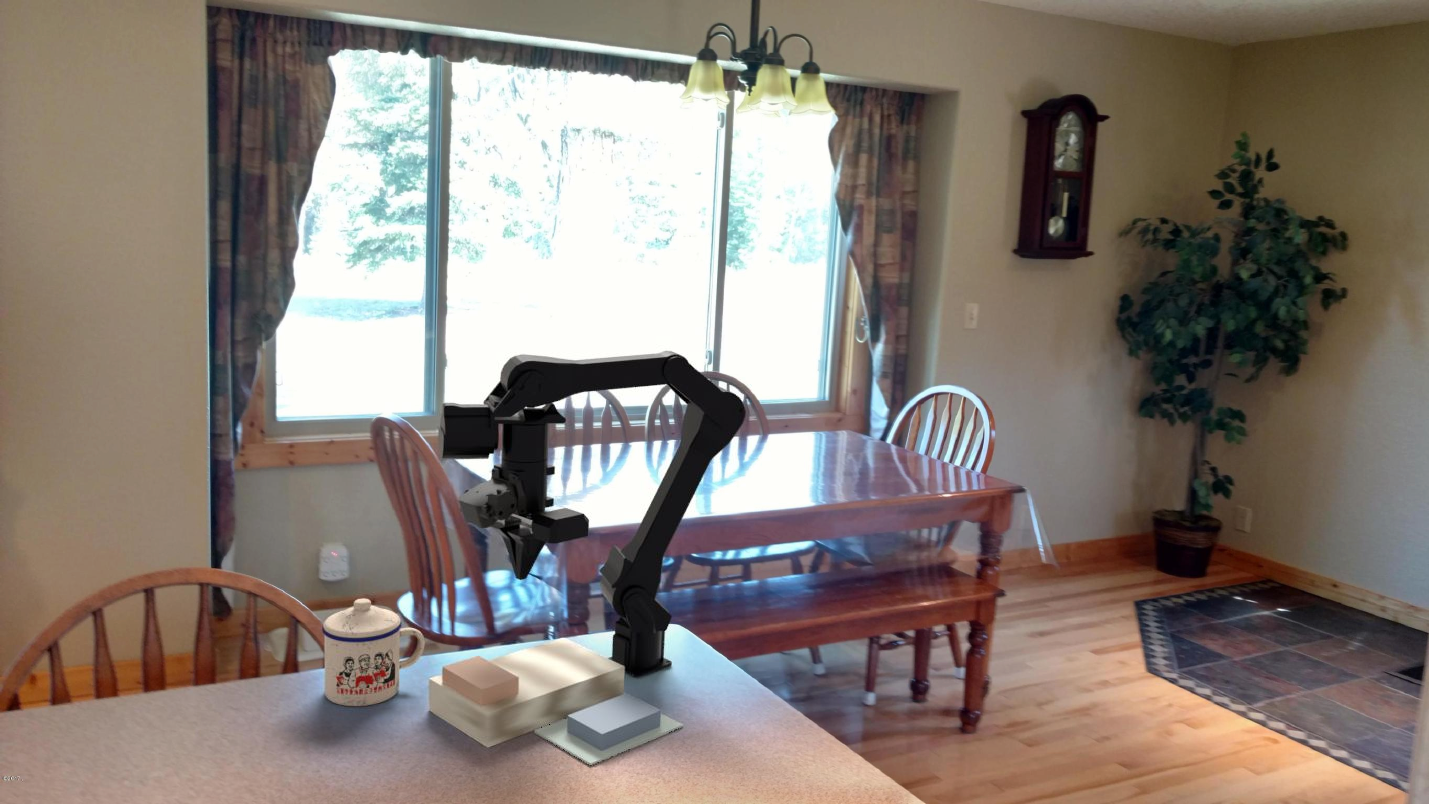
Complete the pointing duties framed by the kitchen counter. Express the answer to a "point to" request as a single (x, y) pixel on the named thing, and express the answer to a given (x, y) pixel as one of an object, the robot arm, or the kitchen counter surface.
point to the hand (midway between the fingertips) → (521, 578)
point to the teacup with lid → (364, 654)
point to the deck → (532, 692)
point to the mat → (593, 755)
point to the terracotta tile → (480, 680)
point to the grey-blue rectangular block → (613, 721)
